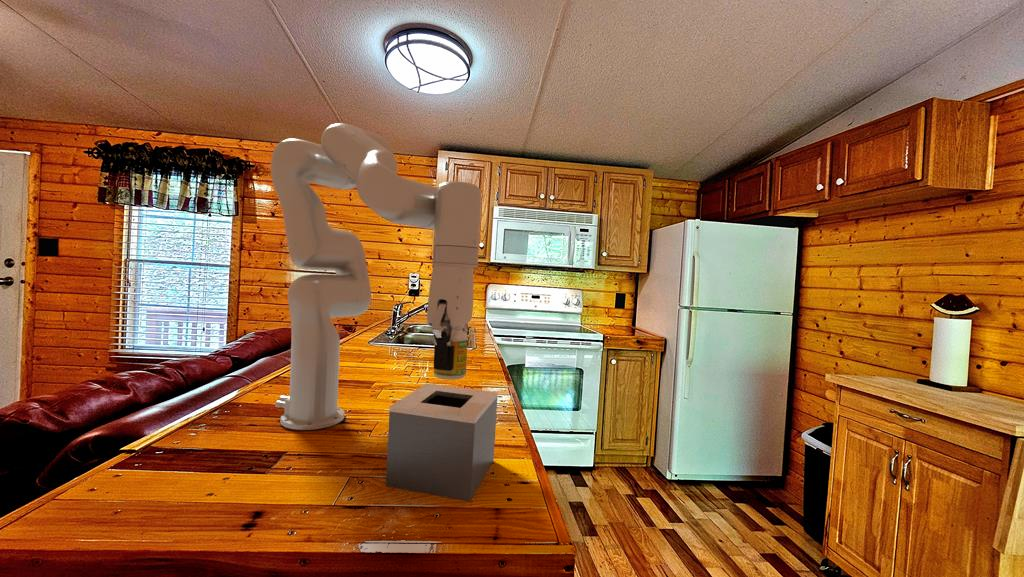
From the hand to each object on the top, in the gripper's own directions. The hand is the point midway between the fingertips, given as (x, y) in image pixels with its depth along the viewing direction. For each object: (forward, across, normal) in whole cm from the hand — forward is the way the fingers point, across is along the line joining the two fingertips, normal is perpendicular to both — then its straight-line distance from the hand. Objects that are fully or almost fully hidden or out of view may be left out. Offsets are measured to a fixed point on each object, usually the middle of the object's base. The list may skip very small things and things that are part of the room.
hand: (450, 364), depth 71 cm
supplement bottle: (+2, 0, 0) cm, 2 cm away
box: (+19, 0, 0) cm, 19 cm away
